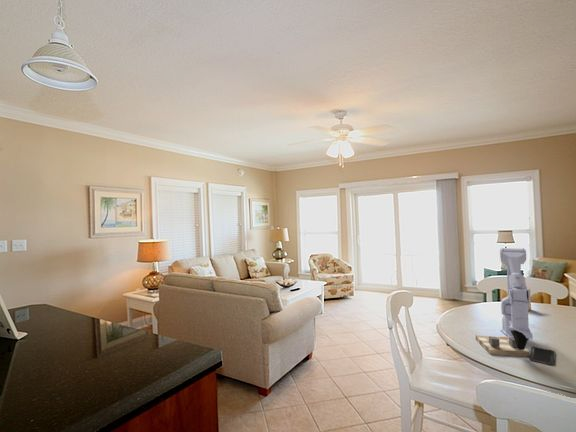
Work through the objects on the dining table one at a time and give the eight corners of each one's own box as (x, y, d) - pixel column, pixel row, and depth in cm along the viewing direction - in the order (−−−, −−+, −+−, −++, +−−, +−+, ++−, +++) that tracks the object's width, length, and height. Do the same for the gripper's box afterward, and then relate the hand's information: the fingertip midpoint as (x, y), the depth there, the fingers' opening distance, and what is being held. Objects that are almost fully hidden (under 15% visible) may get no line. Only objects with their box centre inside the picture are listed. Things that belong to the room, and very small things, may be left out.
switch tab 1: (489, 343, 136) (488, 336, 136) (496, 343, 136) (496, 336, 136) (491, 345, 134) (491, 339, 134) (499, 346, 133) (499, 339, 133)
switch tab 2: (509, 344, 135) (508, 337, 135) (516, 344, 134) (516, 337, 134) (512, 346, 132) (512, 340, 132) (520, 347, 131) (520, 340, 131)
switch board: (475, 339, 147) (475, 335, 147) (511, 341, 143) (510, 336, 143) (489, 353, 131) (489, 349, 131) (529, 356, 128) (529, 351, 128)
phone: (529, 358, 125) (531, 346, 136) (529, 361, 125) (531, 348, 136) (554, 364, 119) (555, 351, 130) (554, 367, 119) (555, 353, 130)
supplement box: (531, 309, 188) (530, 288, 188) (527, 310, 186) (527, 289, 186) (516, 306, 195) (515, 285, 195) (512, 307, 193) (511, 287, 193)
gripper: (501, 311, 136) (502, 341, 136) (517, 322, 122) (519, 356, 122) (519, 311, 134) (520, 342, 134) (538, 323, 120) (539, 357, 120)
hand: (520, 349), depth 128 cm, fingers closed
